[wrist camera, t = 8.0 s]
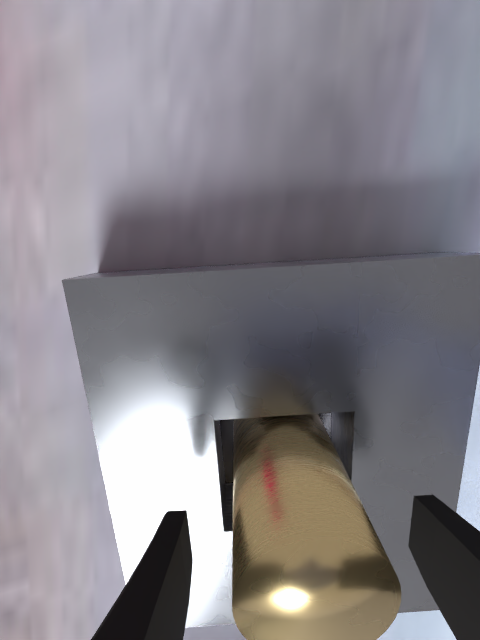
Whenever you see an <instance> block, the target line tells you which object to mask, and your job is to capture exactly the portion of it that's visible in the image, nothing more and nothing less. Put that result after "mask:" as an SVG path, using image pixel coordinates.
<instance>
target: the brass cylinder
mask: <svg viewBox="0 0 480 640" xmlns="http://www.w3.org/2000/svg"><path fill="white" fill-rule="evenodd" d="M400 603H401V585H400V582H399V579H398V577H397V574H396V572H395V570H394V568H393V566H392V564H391V562H390V560H389V558H388V556H387V554H386V552H385V550H384V548H383V546H382V544H381V542H380V540H379V538H378V535H377V533H376V531H375V529H374V527H373V525H372V523H371V521H370V519H369V517H368V515H367V513H366V511H365V509H364V507H363V505H362V503H361V501H360V499H359V496H358V494H357V492H356V490H355V488H354V486H353V484H352V482H351V480H350V478H349V476H348V474H347V472H346V470H345V468H344V466H343V464H342V462H341V459H340V457H339V455H338V453H337V451H336V449H335V447H334V445H333V443H332V441H331V439H330V437H329V435H328V433H327V431H326V429H325V427H324V425H323V423H322V420H321V418H320V416H319V414H304V415H288V416H273V417H257V418H242V419H234V435H233V546H232V612H233V617H234V620H235V623H236V625H237V627H238V629H239V631H240V632H241V633H242V635H243V636H244V637H245V638H246V639H247V640H376V639H378V638H379V637H380V636H381V635H382V634H383V633H384V632H385V631H386V630H387V629H388V628H389V626H390V625H391V624H392V622H393V621H394V619H395V617H396V615H397V613H398V611H399V607H400Z"/></svg>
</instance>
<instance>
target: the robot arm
mask: <svg viewBox="0 0 480 640" xmlns="http://www.w3.org/2000/svg"><path fill="white" fill-rule="evenodd" d="M408 547H409V549H410V551H411V553H412V556H413V558H414V560H415V562H416V565H417V567H418V569H419V571H420V573H421V575H422V578H423V580H424V582H425V584H426V586H427V588H428V590H429V592H430V593H431V595H432V597H433V599H434V601H435V602H436V604H437V606H438V608H439V609H440V611H441V613H442V615H443V616H444V618H445V620H446V622H447V623H448V625H449V627H450V629H451V630H452V632H453V634H454V636H455V637H456V639H457V640H480V531H478V530H477V529H476V528H475V527H473V526H472V525H471V524H470V523H468V522H467V521H466V520H465V519H463V518H462V517H461V516H460V515H458V514H457V513H456V512H455V511H453V510H452V509H451V508H450V507H448V506H447V505H446V504H444V503H443V502H442V501H441V500H439V499H438V498H437V497H435V496H434V495H419V496H414V499H413V508H412V517H411V526H410V535H409V544H408ZM192 567H193V555H192V547H191V539H190V531H189V523H188V516H187V510H176V511H167V512H166V513H165V514H164V516H163V518H162V520H161V522H160V524H159V526H158V528H157V530H156V532H155V534H154V536H153V538H152V540H151V542H150V543H149V545H148V547H147V549H146V551H145V553H144V554H143V556H142V558H141V560H140V562H139V563H138V565H137V567H136V568H135V570H134V572H133V573H132V575H131V577H130V579H129V580H128V582H127V584H126V585H125V587H124V589H123V590H122V592H121V594H120V595H119V597H118V599H117V600H116V602H115V603H114V605H113V606H112V608H111V610H110V611H109V613H108V614H107V616H106V617H105V619H104V620H103V622H102V624H101V625H100V627H99V628H98V630H97V631H96V633H95V634H94V636H93V637H92V639H91V640H183V636H184V630H185V625H186V619H187V613H188V607H189V600H190V589H191V578H192Z"/></svg>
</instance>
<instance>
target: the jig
mask: <svg viewBox="0 0 480 640" xmlns="http://www.w3.org/2000/svg"><path fill="white" fill-rule="evenodd" d="M62 283H63V287H64V292H65V297H66V302H67V306H68V311H69V316H70V321H71V325H72V330H73V335H74V340H75V345H76V349H77V354H78V359H79V364H80V368H81V373H82V378H83V383H84V387H85V392H86V397H87V402H88V406H89V411H90V416H91V421H92V426H93V430H94V435H95V440H96V445H97V449H98V454H99V459H100V464H101V468H102V473H103V478H104V483H105V487H106V492H107V497H108V502H109V507H110V511H111V516H112V521H113V526H114V530H115V535H116V540H117V545H118V549H119V554H120V559H121V564H122V568H123V573H124V578H125V583H126V584H127V582H128V580H129V579H130V577H131V575H132V573H133V572H134V570H135V568H136V567H137V565H138V563H139V562H140V560H141V558H142V556H143V554H144V553H145V551H146V549H147V547H148V545H149V543H150V542H151V540H152V538H153V536H154V534H155V532H156V530H157V528H158V526H159V524H160V522H161V520H162V518H163V516H164V514H165V513H166V512H167V511H176V510H187V516H188V523H189V531H190V539H191V547H192V555H193V567H192V578H191V589H190V600H189V607H188V613H187V619H186V625H185V628H191V627H205V626H219V625H233V624H236V623H235V620H234V617H233V612H232V546H233V483H226V484H225V475H224V464H223V452H222V440H221V428H220V420H226V419H242V418H257V417H273V416H288V415H304V414H319V413H331V441H332V443H333V445H334V447H335V449H336V451H337V453H338V455H339V457H340V459H341V462H342V464H343V466H344V468H345V470H346V472H347V474H348V476H349V478H350V480H351V482H352V484H353V486H354V488H355V490H356V492H357V494H358V496H359V499H360V501H361V503H362V505H363V507H364V509H365V511H366V513H367V515H368V517H369V519H370V521H371V523H372V525H373V527H374V529H375V531H376V533H377V535H378V538H379V540H380V542H381V544H382V546H383V548H384V550H385V552H386V554H387V556H388V558H389V560H390V562H391V564H392V566H393V568H394V570H395V572H396V574H397V577H398V579H399V582H400V585H401V603H400V607H399V611H398V613H403V612H417V611H432V610H440V609H439V608H438V606H437V604H436V602H435V601H434V599H433V597H432V595H431V593H430V592H429V590H428V588H427V586H426V584H425V582H424V580H423V578H422V575H421V573H420V571H419V569H418V567H417V565H416V562H415V560H414V558H413V556H412V553H411V551H410V549H409V547H408V544H409V535H410V526H411V517H412V508H413V499H414V496H419V495H434V496H435V497H437V498H438V499H439V500H441V501H442V502H443V503H444V504H446V505H447V506H448V507H450V508H451V509H452V510H453V511H455V512H456V509H457V503H458V497H459V490H460V484H461V478H462V472H463V465H464V459H465V453H466V446H467V440H468V434H469V428H470V421H471V415H472V409H473V402H474V396H475V390H476V384H477V377H478V371H479V365H480V253H456V252H436V253H419V254H403V255H386V256H369V257H353V258H336V259H319V260H303V261H286V262H269V263H253V264H236V265H219V266H203V267H186V268H169V269H153V270H136V271H119V272H103V273H94V274H89V275H84V276H79V277H74V278H69V279H64V280H62Z"/></svg>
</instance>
